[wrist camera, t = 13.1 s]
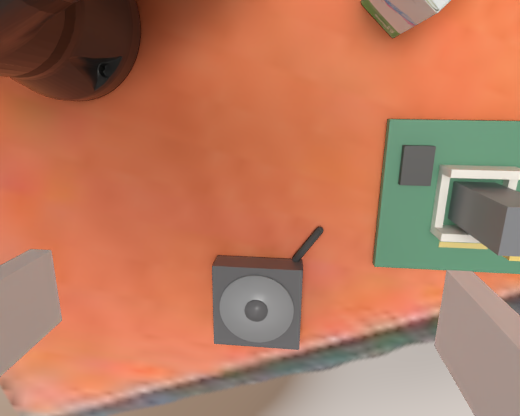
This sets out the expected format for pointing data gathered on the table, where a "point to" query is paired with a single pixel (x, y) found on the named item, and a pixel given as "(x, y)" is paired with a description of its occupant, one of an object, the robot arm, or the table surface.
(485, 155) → the board
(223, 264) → the speaker
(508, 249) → the plug
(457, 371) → the robot arm
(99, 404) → the table surface
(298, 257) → the rod
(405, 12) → the ink box
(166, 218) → the table surface
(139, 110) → the table surface
